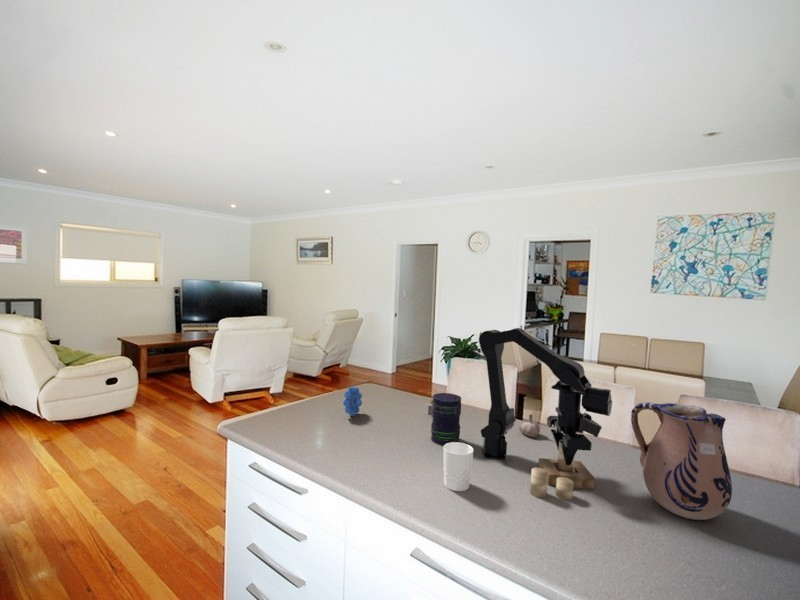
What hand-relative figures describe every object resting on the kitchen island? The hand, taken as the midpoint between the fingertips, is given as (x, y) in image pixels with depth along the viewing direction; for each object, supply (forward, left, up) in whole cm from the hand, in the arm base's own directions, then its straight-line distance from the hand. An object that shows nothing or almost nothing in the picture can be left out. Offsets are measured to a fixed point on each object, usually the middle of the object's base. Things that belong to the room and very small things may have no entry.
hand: (565, 461), depth 110 cm
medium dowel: (-10, -10, -5) cm, 15 cm away
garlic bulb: (-2, +32, -5) cm, 32 cm away
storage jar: (-33, +21, -5) cm, 39 cm away
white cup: (-31, -9, -5) cm, 33 cm away
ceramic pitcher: (+23, -11, -5) cm, 26 cm away
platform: (-35, +45, -5) cm, 58 cm away
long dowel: (0, 0, -4) cm, 4 cm away
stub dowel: (-3, -10, -5) cm, 12 cm away
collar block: (0, 0, -5) cm, 5 cm away
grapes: (-68, +38, -5) cm, 78 cm away
